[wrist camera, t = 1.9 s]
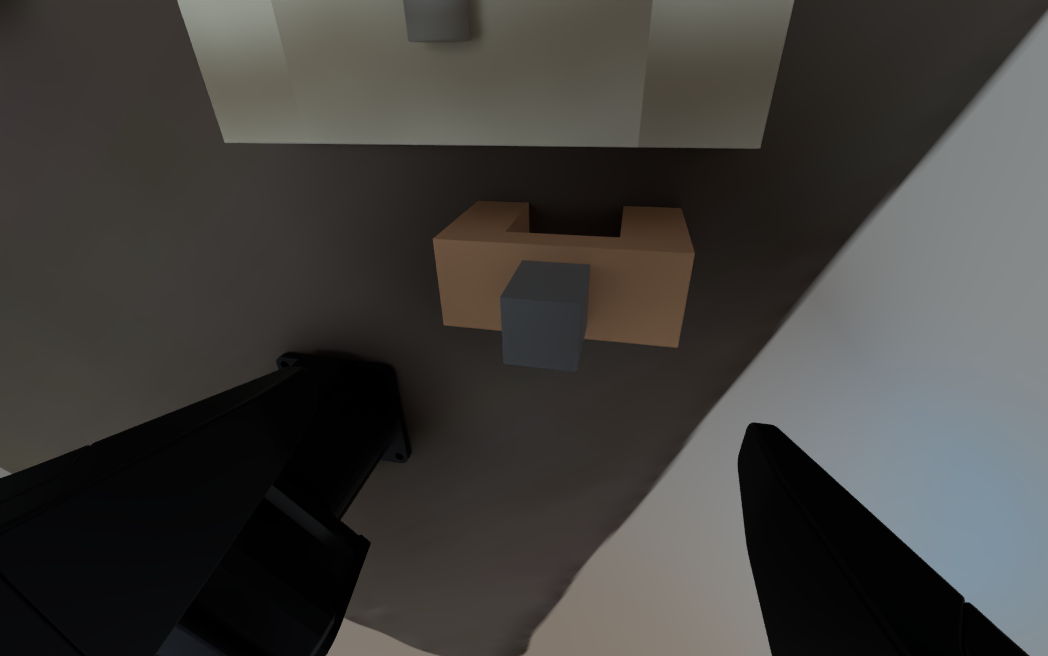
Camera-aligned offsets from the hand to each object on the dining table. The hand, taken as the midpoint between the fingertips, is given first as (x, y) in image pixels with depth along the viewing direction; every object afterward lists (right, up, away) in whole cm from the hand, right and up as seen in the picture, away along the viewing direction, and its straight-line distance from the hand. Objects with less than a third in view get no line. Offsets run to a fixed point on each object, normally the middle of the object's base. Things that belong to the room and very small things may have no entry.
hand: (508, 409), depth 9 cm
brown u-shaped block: (+2, +5, +8) cm, 10 cm away
